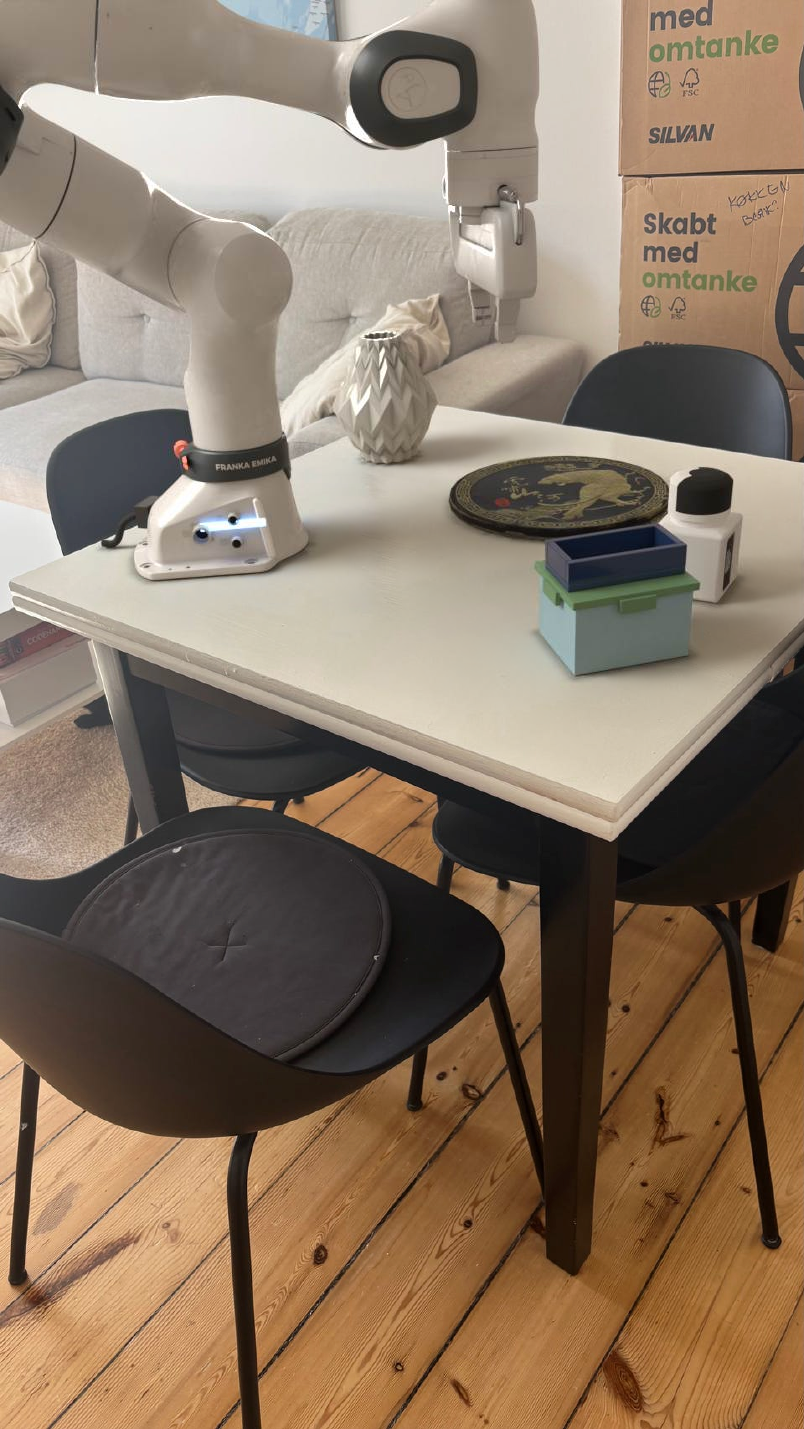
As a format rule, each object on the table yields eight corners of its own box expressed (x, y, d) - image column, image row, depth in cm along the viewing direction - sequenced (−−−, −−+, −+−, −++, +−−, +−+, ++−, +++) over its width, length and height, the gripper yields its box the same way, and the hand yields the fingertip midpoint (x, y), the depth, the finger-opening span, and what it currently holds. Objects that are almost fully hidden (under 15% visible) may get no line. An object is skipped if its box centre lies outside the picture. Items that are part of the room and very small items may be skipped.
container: (737, 577, 119) (748, 465, 113) (717, 604, 114) (728, 488, 107) (670, 567, 123) (677, 458, 116) (648, 593, 117) (654, 480, 111)
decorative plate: (450, 534, 132) (446, 459, 157) (451, 548, 133) (447, 472, 158) (693, 522, 130) (649, 449, 156) (691, 537, 131) (648, 462, 157)
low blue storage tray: (568, 592, 100) (568, 563, 98) (544, 568, 105) (545, 539, 104) (685, 573, 102) (687, 544, 100) (656, 550, 107) (658, 522, 106)
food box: (569, 681, 102) (570, 605, 97) (529, 631, 111) (529, 560, 107) (699, 658, 104) (706, 583, 100) (649, 610, 114) (653, 541, 110)
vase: (323, 453, 171) (311, 334, 162) (415, 435, 176) (408, 319, 167) (360, 480, 158) (349, 353, 149) (458, 460, 163) (453, 336, 154)
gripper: (555, 187, 93) (552, 350, 100) (497, 175, 110) (498, 314, 117) (486, 192, 92) (487, 356, 99) (438, 179, 109) (442, 319, 116)
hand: (493, 333), depth 108 cm, fingers open, 8 cm apart
